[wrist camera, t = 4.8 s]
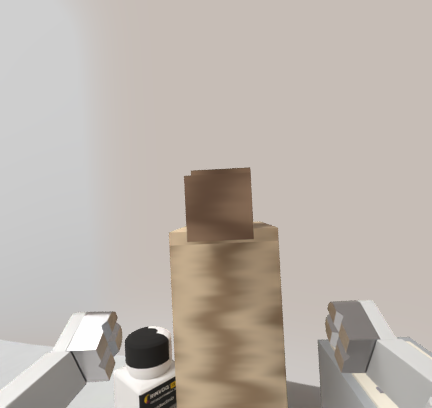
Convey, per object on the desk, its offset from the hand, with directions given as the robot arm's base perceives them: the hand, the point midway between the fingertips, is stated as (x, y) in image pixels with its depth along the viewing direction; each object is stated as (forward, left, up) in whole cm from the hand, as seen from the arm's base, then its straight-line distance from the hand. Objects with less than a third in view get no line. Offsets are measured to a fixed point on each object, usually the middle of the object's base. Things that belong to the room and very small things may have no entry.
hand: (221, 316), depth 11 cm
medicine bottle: (+11, -27, -24) cm, 38 cm away
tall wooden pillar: (0, -22, -24) cm, 32 cm away
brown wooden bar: (0, -15, +2) cm, 15 cm away
